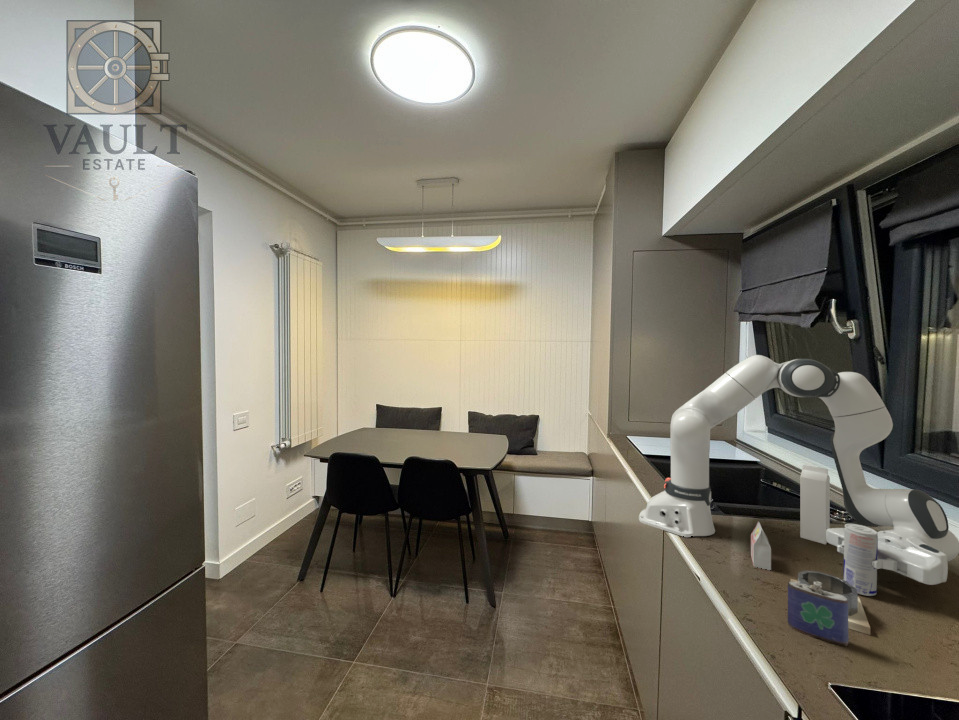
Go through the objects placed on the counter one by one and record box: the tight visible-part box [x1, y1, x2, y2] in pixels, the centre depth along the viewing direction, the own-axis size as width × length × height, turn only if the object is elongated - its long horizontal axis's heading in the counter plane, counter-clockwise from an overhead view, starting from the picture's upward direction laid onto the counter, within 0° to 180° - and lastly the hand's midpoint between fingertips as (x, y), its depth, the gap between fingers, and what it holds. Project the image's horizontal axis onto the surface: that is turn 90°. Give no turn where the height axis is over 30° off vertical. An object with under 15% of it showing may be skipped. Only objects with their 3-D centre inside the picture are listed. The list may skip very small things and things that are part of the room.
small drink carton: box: [750, 521, 772, 571], centre depth 103 cm, size 4×7×10 cm, turn 150°
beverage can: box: [842, 523, 878, 597], centre depth 90 cm, size 6×6×15 cm
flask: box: [787, 580, 850, 647], centre depth 76 cm, size 9×3×11 cm, turn 51°
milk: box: [799, 464, 831, 545], centre depth 116 cm, size 6×6×22 cm
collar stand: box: [790, 570, 871, 636], centre depth 84 cm, size 12×12×6 cm
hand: (855, 556), depth 90 cm, fingers closed on beverage can, 5 cm apart
